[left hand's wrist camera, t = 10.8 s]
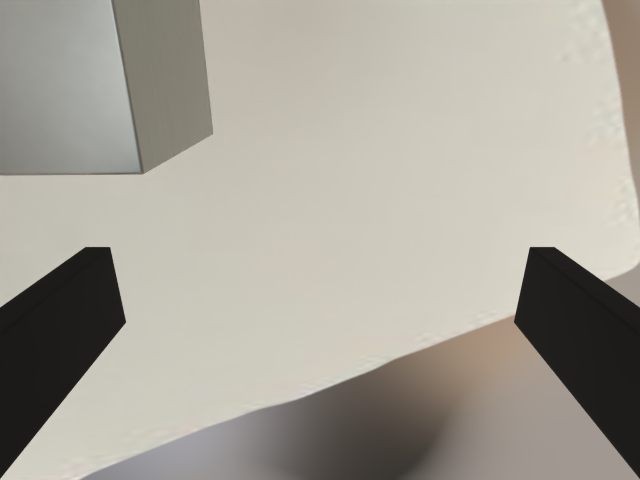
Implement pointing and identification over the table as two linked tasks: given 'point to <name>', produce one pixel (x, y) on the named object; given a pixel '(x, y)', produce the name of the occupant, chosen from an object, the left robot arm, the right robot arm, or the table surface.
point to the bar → (100, 85)
